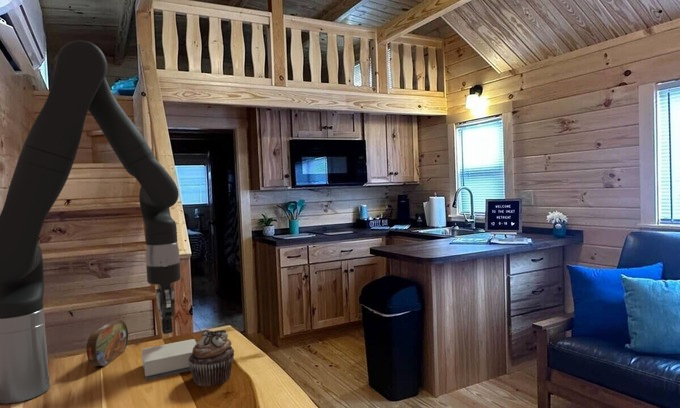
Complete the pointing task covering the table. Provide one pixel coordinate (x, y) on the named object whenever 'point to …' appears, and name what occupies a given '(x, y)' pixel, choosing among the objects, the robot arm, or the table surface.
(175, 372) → the mat
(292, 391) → the table surface
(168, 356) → the tile
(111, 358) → the tin
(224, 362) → the cupcake
